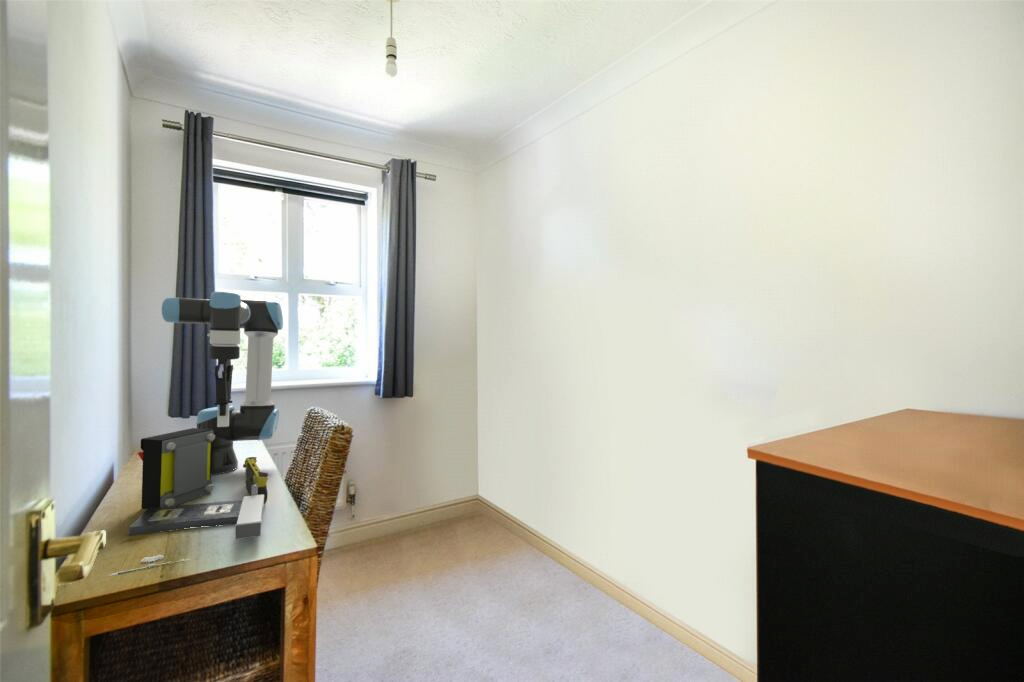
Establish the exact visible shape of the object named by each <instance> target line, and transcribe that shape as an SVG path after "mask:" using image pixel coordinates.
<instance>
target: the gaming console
mask: <svg viewBox="0 0 1024 682" xmlns="http://www.w3.org/2000/svg"><path fill="white" fill-rule="evenodd" d="M257 462H258V460H257V456H249V457H246V458H245V460H244V463H243V465H242V468H243V469H244V471H245V472H244V473H245V474H244V475H245V477H244V478H245V479H244V480H245V481H244V483H245V489H246V491H247V493H248V496H251V485H255V484H257V485H258V495H263V494H264V505H266V503H267V501H268V489H267V487H268V486H267V483H268V480H269V472H265V471H261V469H260V467H259V466H258V464H257Z"/></svg>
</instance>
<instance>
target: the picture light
mask: <svg viewBox="0 0 1024 682" xmlns="http://www.w3.org/2000/svg"><path fill="white" fill-rule="evenodd" d="M161 558H163V559H164V558H165V556H164V555H163V554H157V555H154V556H149V557H146V556H145V557H143V558H142V559H141V560H140V563H141V562H146V563H148V564H147V566H143V567H139V568H133V569H128V570H122V571H118V572H115V573H114V572H113V573H111V574H108V577H112V576H116V575H117V576H118V575H122V574H126V573H132V571H133V572H137V571H136V570H138V571H141V570H140V569H143V570H145V568H148V569H151V567H152V568H155V567H154V566H157V567H159V566H158V565H162V566H164V565H163V564H166V563H170V562H171V561H167V562H163V563H158V564H156V563H150V562H152V561H153V562H157V561H159V560H158V559H160V560H162V559H161ZM184 559H185V558H183V559H181V560H184ZM156 560H157V561H156ZM147 561H148V562H147ZM149 567H150V568H149Z"/></svg>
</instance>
